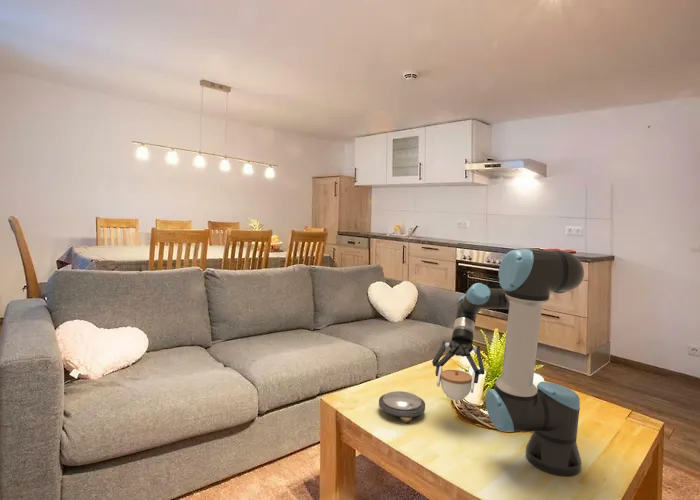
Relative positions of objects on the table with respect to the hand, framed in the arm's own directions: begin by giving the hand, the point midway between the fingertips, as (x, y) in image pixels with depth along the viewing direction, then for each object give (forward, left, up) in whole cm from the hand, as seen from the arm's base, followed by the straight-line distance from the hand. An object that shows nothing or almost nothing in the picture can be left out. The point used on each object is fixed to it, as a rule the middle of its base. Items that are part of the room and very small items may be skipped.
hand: (454, 388), depth 144 cm
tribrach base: (+19, -3, -14) cm, 24 cm away
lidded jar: (0, -3, -4) cm, 5 cm away
